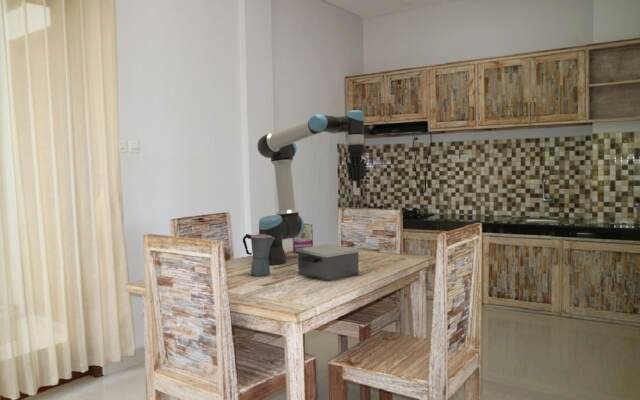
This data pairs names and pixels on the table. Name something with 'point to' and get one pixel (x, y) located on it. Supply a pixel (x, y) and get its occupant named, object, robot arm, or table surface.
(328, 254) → the grey box lid
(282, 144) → the robot arm
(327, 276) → the dark grey storage box
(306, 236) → the candy bar box
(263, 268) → the moka pot
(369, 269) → the table surface
